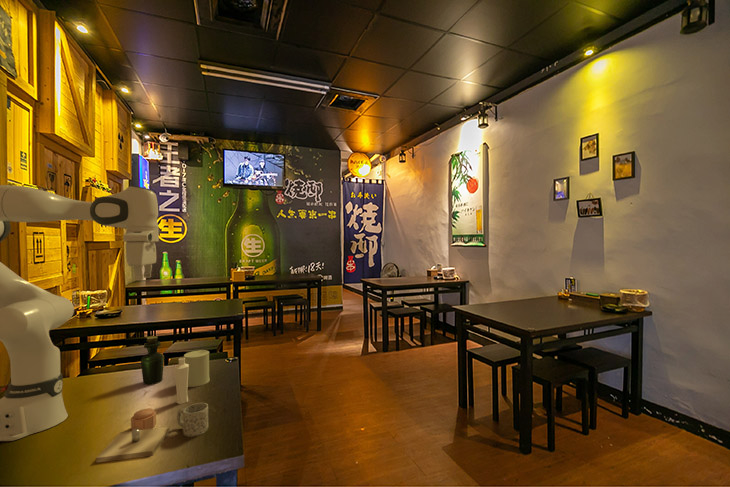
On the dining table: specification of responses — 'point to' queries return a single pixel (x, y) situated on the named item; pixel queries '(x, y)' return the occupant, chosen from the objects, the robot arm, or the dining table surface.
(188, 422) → the mug
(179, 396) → the perfume bottle
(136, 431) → the stud
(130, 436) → the board
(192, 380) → the can
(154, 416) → the cap
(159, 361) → the potion bottle
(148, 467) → the dining table surface
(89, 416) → the dining table surface
